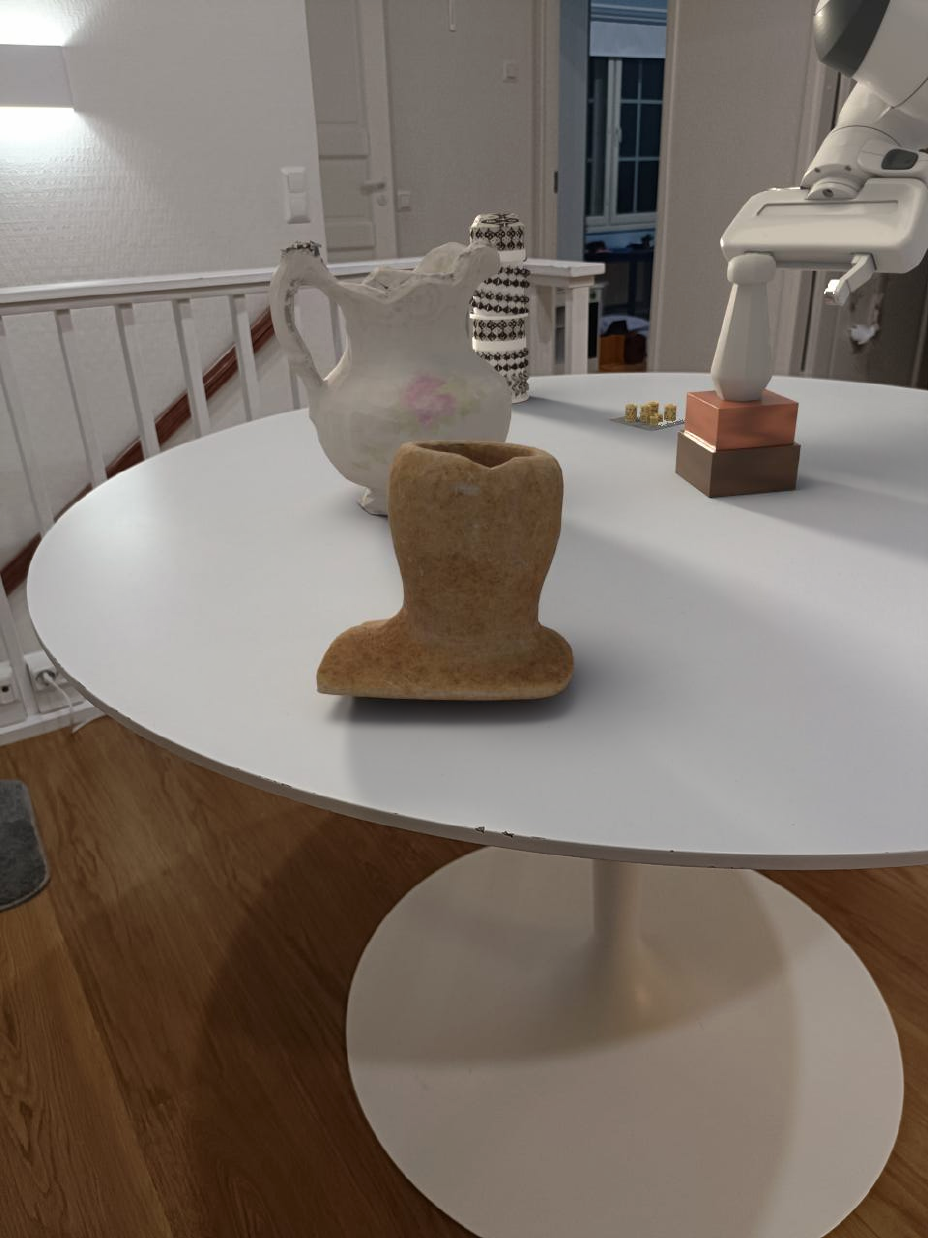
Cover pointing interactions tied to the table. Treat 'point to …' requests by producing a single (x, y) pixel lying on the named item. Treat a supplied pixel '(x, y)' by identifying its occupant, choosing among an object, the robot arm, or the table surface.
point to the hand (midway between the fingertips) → (786, 298)
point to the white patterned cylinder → (503, 302)
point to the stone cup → (463, 580)
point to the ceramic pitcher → (395, 360)
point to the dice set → (649, 416)
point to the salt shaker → (745, 331)
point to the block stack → (738, 444)
